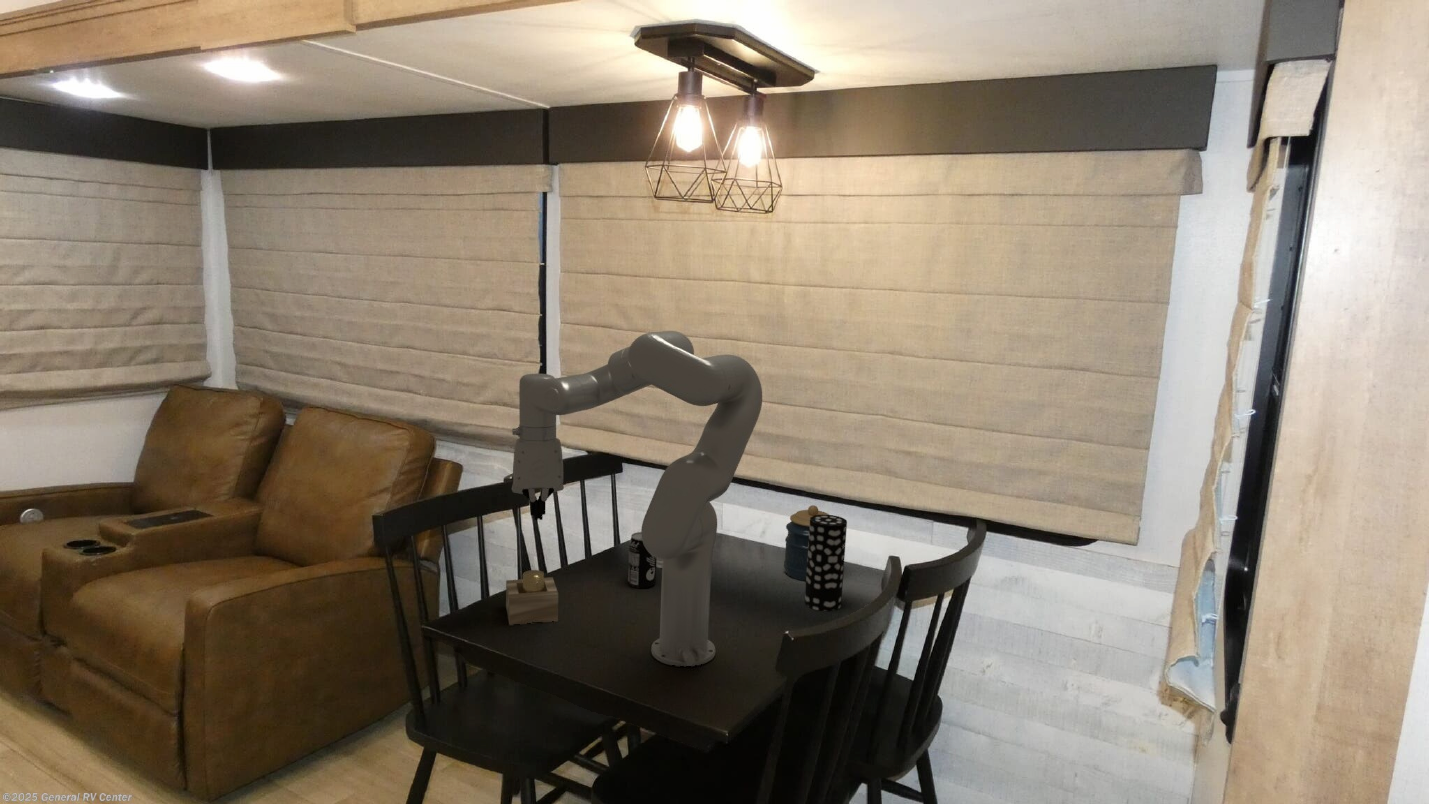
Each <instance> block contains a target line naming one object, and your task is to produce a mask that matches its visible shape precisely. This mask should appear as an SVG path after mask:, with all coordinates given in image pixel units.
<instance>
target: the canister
mask: <svg viewBox="0 0 1429 804" xmlns="http://www.w3.org/2000/svg"><path fill="white" fill-rule="evenodd" d="M815 515H830V514H829V513H828V512H825V511H821V510H819V508H818V506H816V505H813V504H812V505H810V506H808V509H802V510H797V511H796V513H793V514H791V515H790V517H789V519H790V522H788V523H787V524H786V525H785V529H786V531H787V536H785V553H784V561H783V568H784V573H785V572H786V573H787V574H786V573H785V574H786V575H787V576H788V577H790V576H791V578H793V579H795V578H796V580H799V581H804V580H806V574H807V558H808V542H809V527H810V517H812V516H815Z"/></svg>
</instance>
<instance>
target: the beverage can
mask: <svg viewBox="0 0 1429 804" xmlns="http://www.w3.org/2000/svg"><path fill="white" fill-rule="evenodd" d="M628 543H629V544H628V569H627V570H628V577H627V581H628V583H629V585H630V586H631V587H633V588H636V589H648V588H651V587H653V586H654V584H655V583H656V582H657V567H656V561H657V558H656V557H654V556H652V555H651V554H650V553H649V552H648V551H647V550H646V548H645V546H644V544H643V541H642V536H641V531H638V532H634V533H632V534H631V537H630V539H629V542H628Z"/></svg>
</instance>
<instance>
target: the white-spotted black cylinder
mask: <svg viewBox="0 0 1429 804" xmlns="http://www.w3.org/2000/svg"><path fill="white" fill-rule="evenodd" d="M847 527H848V521H847V519H846V518H844V517H842V516H839V515H833V514H829V515H815V516H812V517H810V527H809V542H808V558H807V574H806V581H805V592H804V605H805V606H807V607H808V608H810V609H813V610H817V611H822V612H832V611H837V610H839V609H840V608H842V597H843V586H844V585H843V583H844V572H845V571H844V569H845V558H846V540H847Z"/></svg>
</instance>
